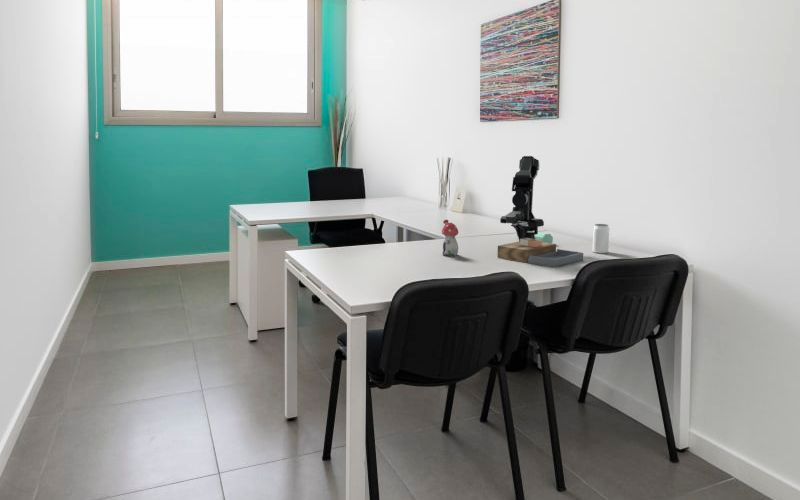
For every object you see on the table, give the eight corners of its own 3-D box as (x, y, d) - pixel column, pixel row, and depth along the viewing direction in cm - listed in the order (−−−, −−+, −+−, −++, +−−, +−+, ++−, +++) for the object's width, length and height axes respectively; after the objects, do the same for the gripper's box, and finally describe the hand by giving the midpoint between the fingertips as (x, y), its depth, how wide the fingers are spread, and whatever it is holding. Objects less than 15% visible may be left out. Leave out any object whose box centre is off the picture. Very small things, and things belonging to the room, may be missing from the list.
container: (516, 225, 304) (544, 231, 281) (526, 229, 306) (554, 235, 283) (512, 236, 304) (540, 243, 281) (522, 240, 306) (550, 247, 283)
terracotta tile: (527, 245, 252) (528, 240, 252) (533, 244, 255) (533, 238, 254) (535, 247, 249) (536, 241, 249) (541, 246, 252) (541, 240, 251)
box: (527, 262, 244) (527, 255, 243) (556, 255, 257) (556, 248, 256) (554, 267, 234) (554, 259, 234) (582, 260, 247) (583, 252, 247)
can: (609, 253, 260) (610, 226, 257) (593, 253, 261) (594, 225, 259) (607, 251, 266) (608, 223, 264) (591, 250, 267) (592, 223, 265)
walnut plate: (497, 257, 255) (497, 245, 254) (526, 251, 268) (526, 239, 267) (526, 262, 244) (527, 250, 243) (555, 255, 257) (556, 244, 256)
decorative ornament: (440, 253, 266) (440, 219, 263) (454, 252, 267) (454, 218, 264) (445, 257, 257) (445, 222, 254) (460, 256, 258) (460, 221, 255)
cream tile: (520, 244, 255) (520, 238, 255) (525, 243, 258) (526, 237, 257) (527, 246, 252) (527, 240, 252) (533, 244, 255) (533, 238, 254)
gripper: (492, 204, 256) (491, 241, 259) (528, 207, 242) (527, 246, 245) (509, 202, 263) (508, 238, 266) (545, 205, 249) (543, 243, 252)
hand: (521, 241), depth 257 cm, fingers closed
